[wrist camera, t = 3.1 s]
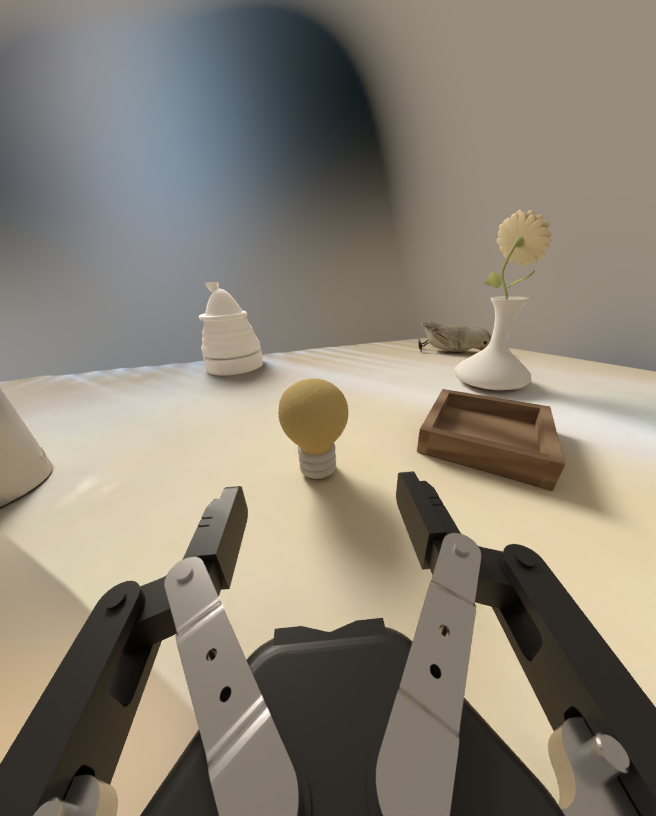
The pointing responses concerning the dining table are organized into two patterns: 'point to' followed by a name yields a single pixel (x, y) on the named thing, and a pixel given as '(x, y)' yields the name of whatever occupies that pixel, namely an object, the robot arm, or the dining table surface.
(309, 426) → the light bulb
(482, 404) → the walnut tray
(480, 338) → the decorative bird
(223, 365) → the honey pot
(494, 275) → the flower in vase
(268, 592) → the dining table surface
